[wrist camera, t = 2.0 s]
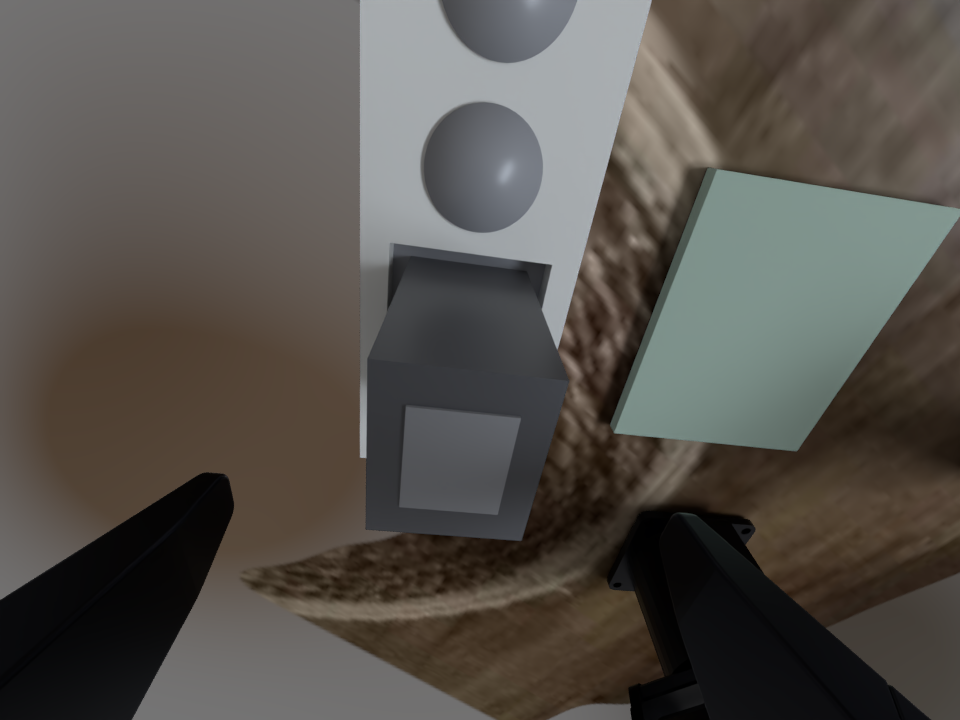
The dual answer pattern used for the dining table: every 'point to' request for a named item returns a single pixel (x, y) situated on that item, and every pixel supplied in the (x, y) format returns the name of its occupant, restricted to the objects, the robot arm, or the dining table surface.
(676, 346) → the mat
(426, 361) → the block
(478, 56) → the power strip
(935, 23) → the dining table surface
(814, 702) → the robot arm
